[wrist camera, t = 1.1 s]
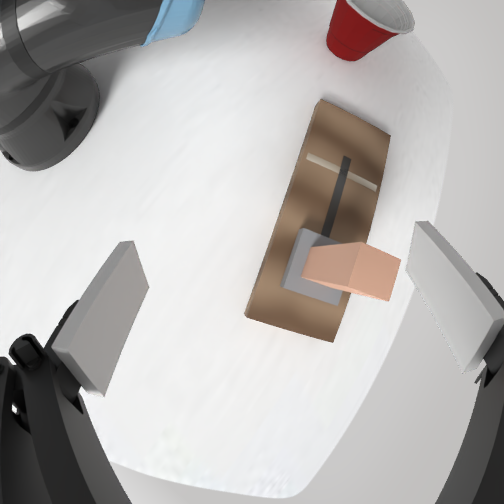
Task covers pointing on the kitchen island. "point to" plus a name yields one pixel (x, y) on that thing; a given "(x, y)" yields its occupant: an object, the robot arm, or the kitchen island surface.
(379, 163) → the fader board
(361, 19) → the plastic cup
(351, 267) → the fader knob
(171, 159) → the kitchen island surface
